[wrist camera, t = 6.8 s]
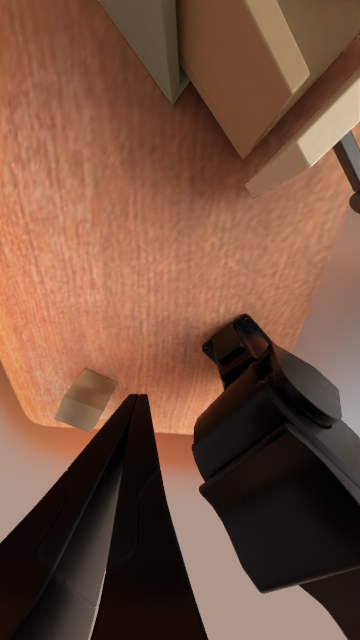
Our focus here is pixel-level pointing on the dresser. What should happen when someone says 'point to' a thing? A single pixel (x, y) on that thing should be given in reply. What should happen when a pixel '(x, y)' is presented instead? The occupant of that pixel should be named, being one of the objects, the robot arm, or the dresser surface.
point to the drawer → (274, 77)
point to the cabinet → (152, 39)
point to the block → (85, 400)
